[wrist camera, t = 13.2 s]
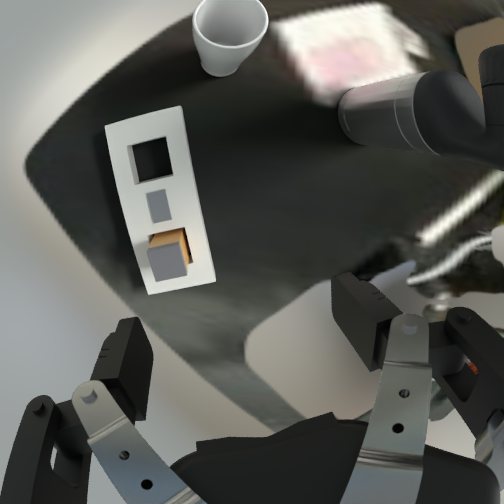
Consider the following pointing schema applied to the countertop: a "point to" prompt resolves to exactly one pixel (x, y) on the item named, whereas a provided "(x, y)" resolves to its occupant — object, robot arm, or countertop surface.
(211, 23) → the drinking glass
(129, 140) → the pdu strip
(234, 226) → the countertop surface
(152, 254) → the plug
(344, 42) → the countertop surface
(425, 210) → the countertop surface
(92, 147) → the countertop surface
